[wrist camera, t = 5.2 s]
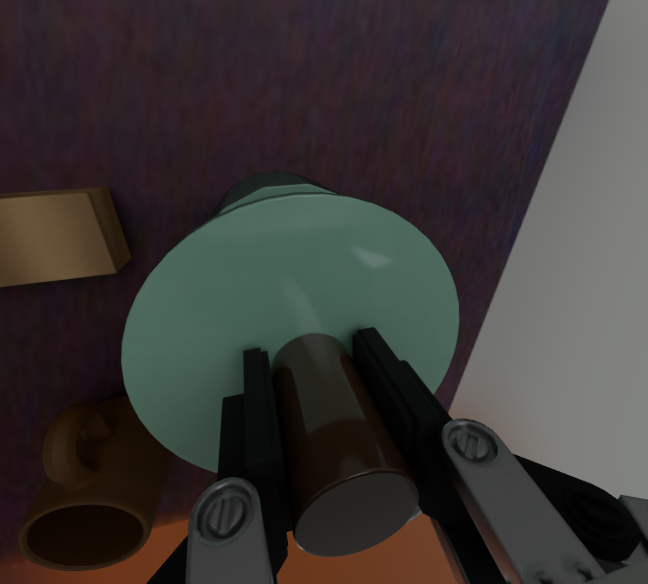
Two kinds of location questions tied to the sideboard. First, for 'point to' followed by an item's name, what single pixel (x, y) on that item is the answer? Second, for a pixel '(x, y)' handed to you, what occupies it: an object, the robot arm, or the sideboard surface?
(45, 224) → the tan wooden bar
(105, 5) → the sideboard surface
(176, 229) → the sideboard surface
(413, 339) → the lid
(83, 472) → the mug
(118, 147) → the sideboard surface
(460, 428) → the robot arm
